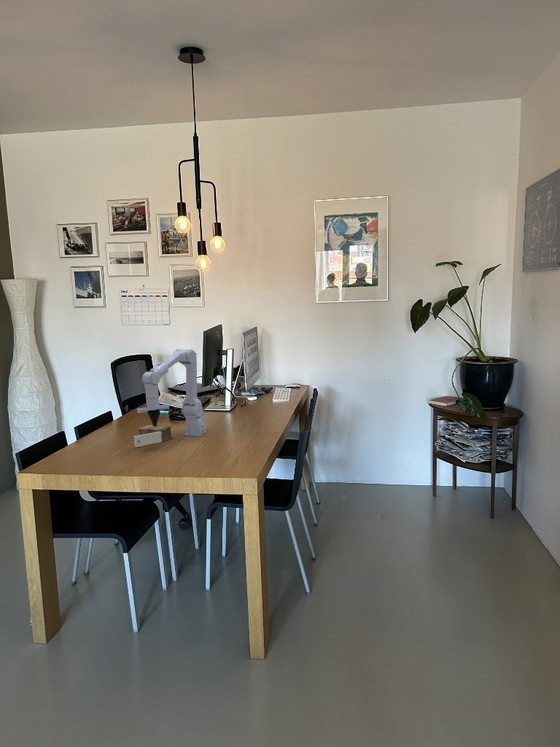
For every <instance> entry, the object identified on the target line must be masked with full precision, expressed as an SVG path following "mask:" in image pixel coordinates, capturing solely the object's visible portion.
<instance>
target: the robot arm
mask: <svg viewBox="0 0 560 747" xmlns="http://www.w3.org/2000/svg"><path fill="white" fill-rule="evenodd" d="M197 357H198V356H197V352H196V351H195V350H194V349H192V348H191V349H179V348H177V349H175V350H174V351H172V354H171V355H170V356H169V357H168V358H167V359H166V360H165V361H164V362H158V363H156V365H155V366H154V367H153V368H151V369H150V370H149V371H146V372H144V373H143V374H142V378H141V382H142V384H143V387H144V389H145V399H146V400H145V401H146V406H145V407H140V408H139V407H138V408H136V411H137V413H138V414H141V413H147V415H148V417H149V419H150V421H151V424H152V425H153V426H154V427H155V426H157V425H158V420H159V418H160V414H161V410H170V405H169V404H168V403H167V404H160V397H159V383H160V382H161V380H162V378H163V377H164V376H165V375H166V374H168V372H169V369H170V368H172V367H173V366H174V365H175V364H177V363H179V364H181V365H183V366H184V367H185V391H186V392H185V393H186V394H185V399H183V401H182V407H181V414H182V415H183V417H184V418H185V425H186V426H185V427H186V432H184V433H183V434H182V435H183V436H193V437H200V436H202V435H204V434H207V429H206V428H207V426H206V419H205V417H203V416H202V415H203V411H204V410H203V405H202V401H201V400H200V399H199V398H198V370H197V369H198V363H197V362H198V361H197Z"/></svg>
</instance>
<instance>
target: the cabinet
mask: <svg viewBox="0 0 560 747" xmlns="http://www.w3.org/2000/svg"><path fill="white" fill-rule="evenodd" d="M137 430H138V436H139V435H144V434H149V433H154V432H159V431H161V432H163V436H161V437H163V441H162V442H161V443H164V442H166V441H168V440H171V439H172V426H171V425H159V424H157V426H155V427H154V426H153V425H151V424H146V425H143V426H140V427H138V428H137Z"/></svg>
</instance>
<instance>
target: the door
mask: <svg viewBox="0 0 560 747" xmlns="http://www.w3.org/2000/svg"><path fill="white" fill-rule="evenodd" d="M161 436H163V432H161V431H159V432H154V433H149V434H144V435H139V434H138V435H134V436H133V441H134V447H135V448H141V447H144V446H145V447H146V446H149V445H150V446H151V445H154V444H159V443H163V442H162V441H163V437H161Z"/></svg>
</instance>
